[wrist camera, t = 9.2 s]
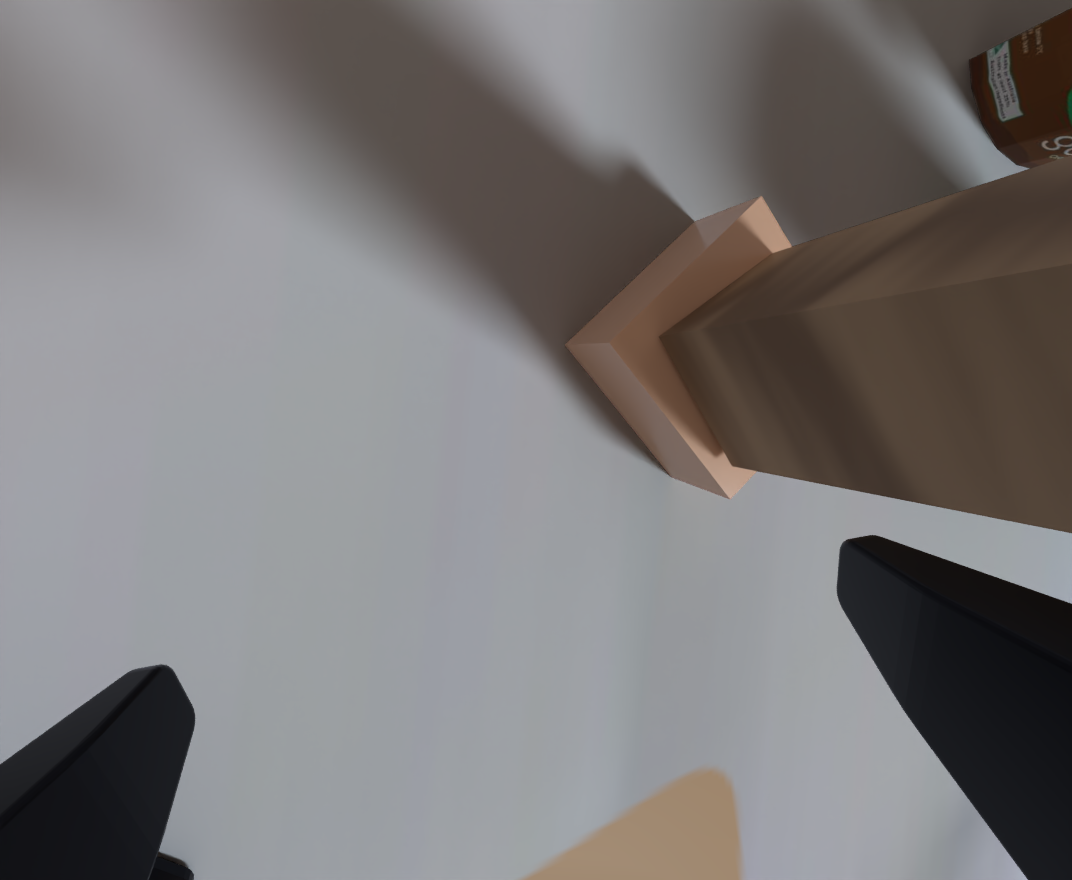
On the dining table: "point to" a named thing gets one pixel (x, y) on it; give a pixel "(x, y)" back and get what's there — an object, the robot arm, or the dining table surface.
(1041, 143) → the food container
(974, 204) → the walnut block
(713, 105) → the dining table surface
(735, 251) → the terracotta block
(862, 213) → the dining table surface
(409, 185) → the dining table surface
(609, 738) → the dining table surface
